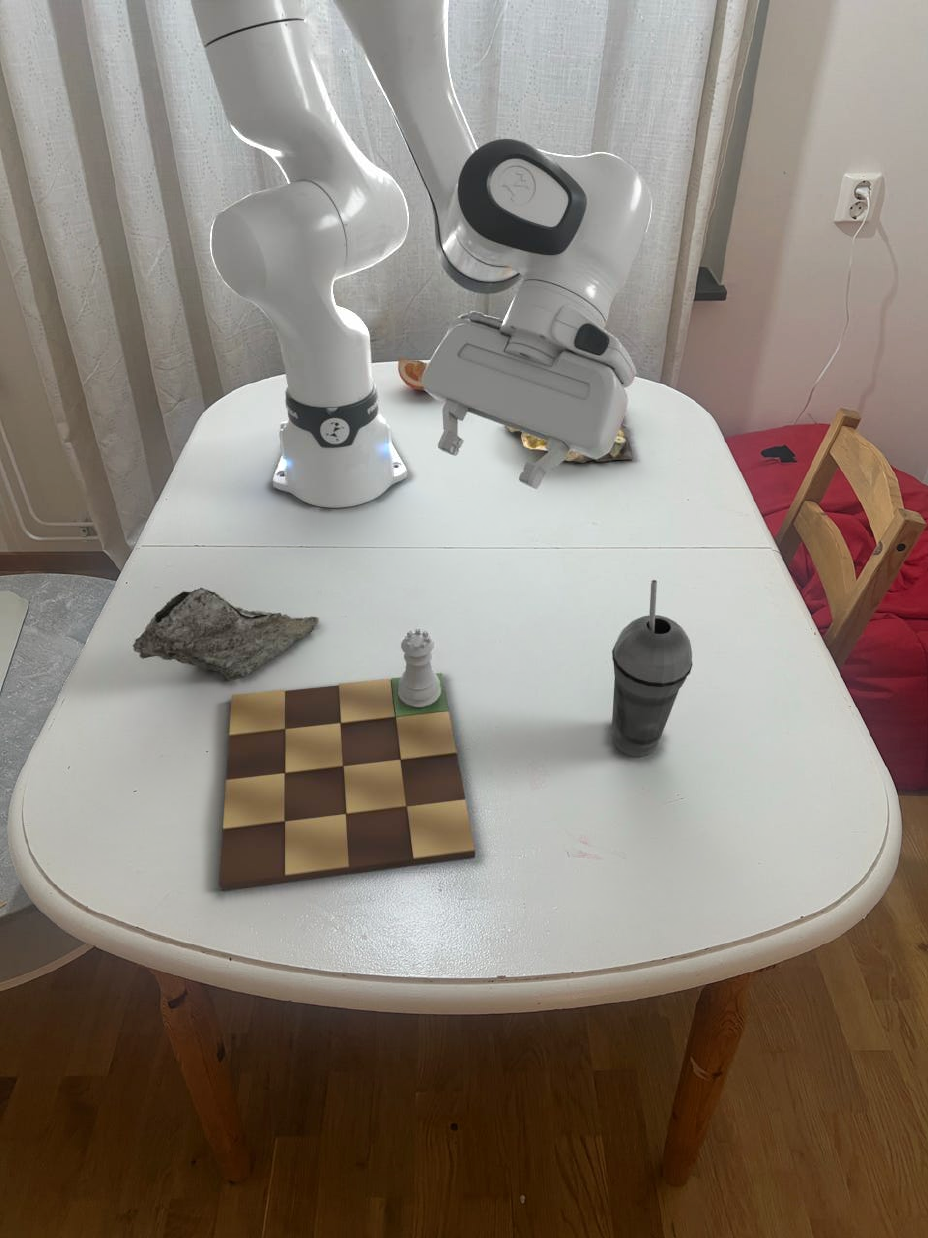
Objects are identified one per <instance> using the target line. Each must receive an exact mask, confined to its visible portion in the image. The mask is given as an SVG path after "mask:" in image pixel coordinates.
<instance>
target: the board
mask: <svg viewBox="0 0 928 1238" xmlns="http://www.w3.org/2000/svg"><path fill="white" fill-rule="evenodd" d="M435 674H436V675H437V677H438V679H439V681H440V687H441V694H440V696H439V698H438V699H437V700H436V701H435V702H434V703H432V704H431V705H429V706H426V707H423V708H419V707H412V706H409V705H407V704H406V703H404V702H403V701H402V700H401V699H400V697H399V695H398V686H399V680H400V678H401V677H402V676H399V677H392V678H391V677H390V678H380V679H372V680H363V681H352V682H341V683H338V684H336V685H325V686H318V687H310V688H308V687H307V688H299V689H298V688H297V689H289V690H288V689H287V690H285V689H277V690H268V691H266V690H265V691H258V692H256V691H255V692H248V693H239V694H232V695H231V702H230V716H229V717H230V718H229V730H228V732H229V733H228V746H227V747H228V748H227V764H226V779H225V790H224V791H225V792H224V805H223V818H222V819H223V821H222V836H221V838H222V839H221V850H220V851H221V852H220V865H219V866H220V867H219V879H218V881H219V882H218V885H219V888H220V891H229V890H237V889H245V888H251V887H260V886H267V885H273V884H275V885H276V884H283V883H290V882H297V881H306V880H313V879H321V878H326V877H327V878H328V877H336V876H342V875H350V874H351V875H352V874H359V873H365V872H367V873H368V872H373V871H382V870H390V869H396V868H405V867H411V866H412V867H413V866H419V865H420V866H421V865H428V864H435V863H442V862H450V861H457V860H465V859H472V858H475V857H476V847H475V841H474V838H473V837H474V836H473V831H472V826H471V820H470V815H469V811H468V805H467V799H466V794H465V789H464V783H463V779H462V774H461V768H460V762H459V757H458V751H457V746H456V741H455V735H454V730H453V725H452V720H451V719H452V718H451V713H450V708H449V704H448V698H447V694H446V688H445V682H444V678H443V673H442V672H438V673H435Z"/></svg>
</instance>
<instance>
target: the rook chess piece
mask: <svg viewBox="0 0 928 1238" xmlns="http://www.w3.org/2000/svg"><path fill="white" fill-rule="evenodd" d="M414 630H415V631H414V632H413V631H412V630H409V631H408V632H406V635H404V638H403V640H402V641H401V642H400V643H401V644H400V648H401V651H402V652H403V659H404V661H405V670H404V672H403V673H402V674H401V676H400V677H401V678H400V680H399V686H398V695H399V697H400V699H401V700H402V701H403V702H404V703H406V704H407V705H409V706H412V707H419V708H423V707H426V706H429V705H431V704H432V703H434V702H435V701H436V700H437V699H438V698H439V696H440V694H441V687H440V681H439V679H438V677H437V675H436V674H437V673H435V671H434V670H433V668H432V663H431V660H432V659H433V653H432V651H433V649H434V648H435V642H434V640H433V638H431V636H430V635H429V632H428V631H426V630H424V631H423V632H421V628H415V629H414Z"/></svg>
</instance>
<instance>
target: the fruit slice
mask: <svg viewBox="0 0 928 1238" xmlns="http://www.w3.org/2000/svg"><path fill="white" fill-rule="evenodd" d="M397 363H398V364H397V369H398V370H397V371H398V374H399V377H400V378H401V380H402V381H403V383H404V384H405V385H407V386H408V387H410V388H412V389H414V390H417V391H425V390H424V388H423V382H422V375H423V373H424V371H425V369H426V367H427V365H428V363H429V362H424V361H421V360H419V359H418V360H417V359H416V360H415V359H407V358H406V359H405V358H399V359H398V362H397Z"/></svg>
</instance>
